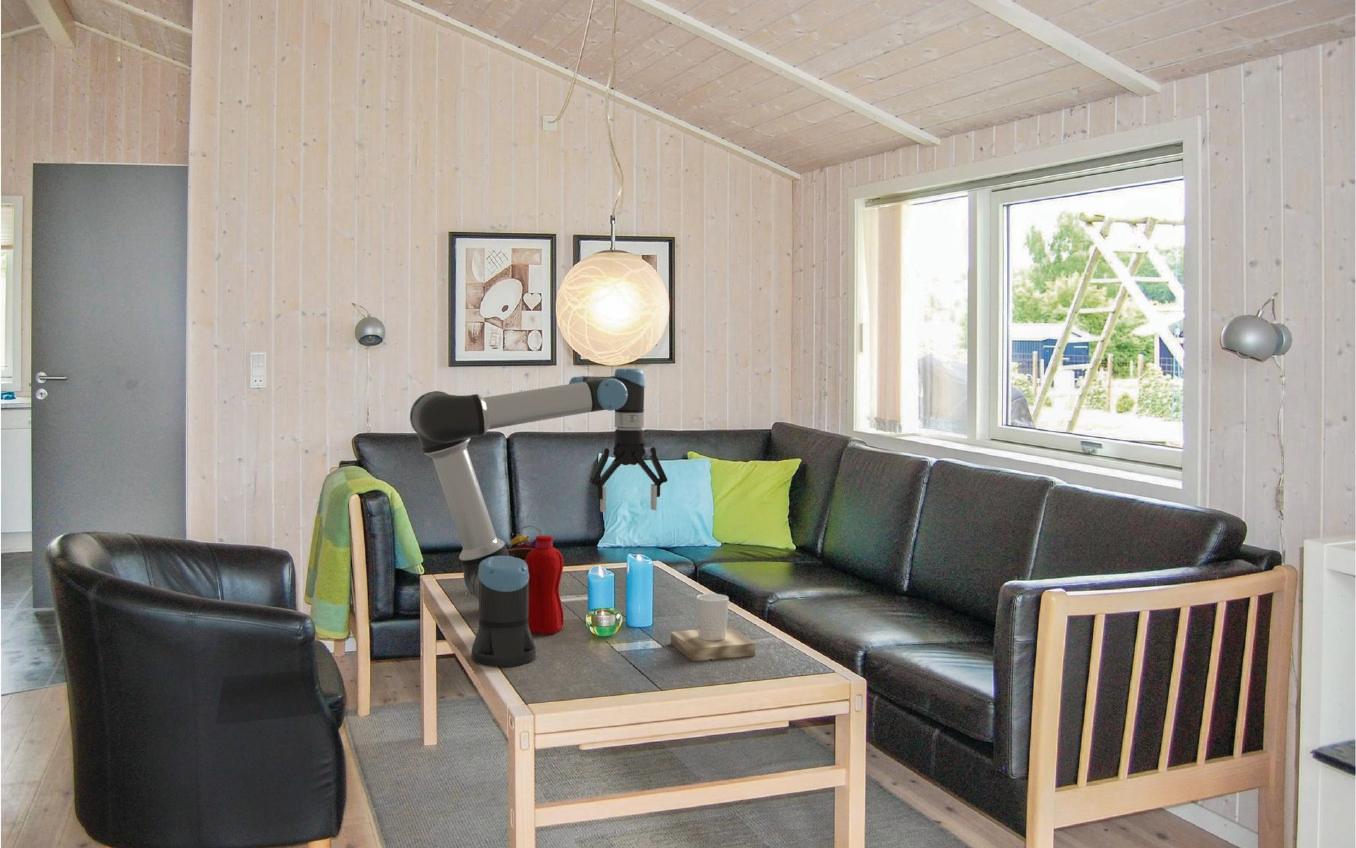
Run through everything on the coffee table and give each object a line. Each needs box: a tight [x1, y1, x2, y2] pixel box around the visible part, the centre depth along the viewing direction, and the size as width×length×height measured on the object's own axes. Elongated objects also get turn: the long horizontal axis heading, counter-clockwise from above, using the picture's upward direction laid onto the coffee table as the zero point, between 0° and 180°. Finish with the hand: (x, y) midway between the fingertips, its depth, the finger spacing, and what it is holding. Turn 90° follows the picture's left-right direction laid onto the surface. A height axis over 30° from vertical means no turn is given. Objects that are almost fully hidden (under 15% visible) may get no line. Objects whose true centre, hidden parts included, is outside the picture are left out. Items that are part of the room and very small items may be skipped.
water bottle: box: [525, 534, 565, 636], centre depth 289 cm, size 9×11×25 cm
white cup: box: [696, 593, 730, 641], centre depth 272 cm, size 8×8×10 cm
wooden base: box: [670, 626, 756, 662], centre depth 273 cm, size 16×16×3 cm
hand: (628, 510), depth 287 cm, fingers open, 13 cm apart
